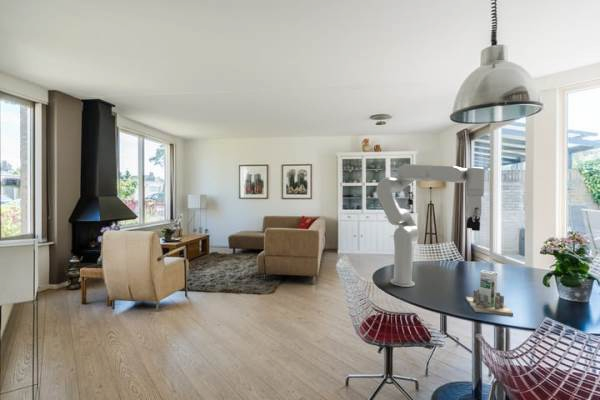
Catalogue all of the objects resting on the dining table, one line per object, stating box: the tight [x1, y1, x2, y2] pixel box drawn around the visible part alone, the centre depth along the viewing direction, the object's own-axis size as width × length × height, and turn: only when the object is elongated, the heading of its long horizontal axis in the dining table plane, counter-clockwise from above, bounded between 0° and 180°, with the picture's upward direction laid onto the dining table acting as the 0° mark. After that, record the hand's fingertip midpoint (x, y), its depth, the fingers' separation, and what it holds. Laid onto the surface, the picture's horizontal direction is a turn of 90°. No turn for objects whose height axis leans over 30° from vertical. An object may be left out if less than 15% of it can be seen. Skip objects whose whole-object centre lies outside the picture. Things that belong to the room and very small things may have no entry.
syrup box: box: [478, 269, 498, 307], centre depth 135 cm, size 6×6×14 cm
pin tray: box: [465, 288, 514, 317], centre depth 134 cm, size 16×14×6 cm
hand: (472, 229), depth 144 cm, fingers open, 9 cm apart
